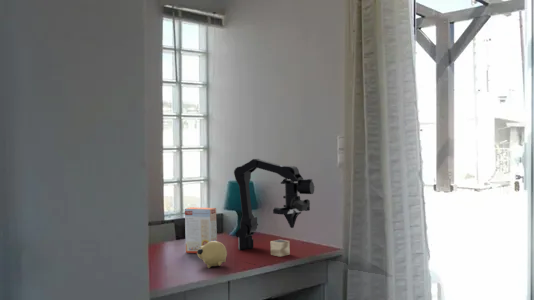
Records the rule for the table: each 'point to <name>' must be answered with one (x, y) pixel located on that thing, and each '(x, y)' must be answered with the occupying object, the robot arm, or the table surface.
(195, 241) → the cracker box
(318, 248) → the table surface
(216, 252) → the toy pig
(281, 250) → the birch cube
